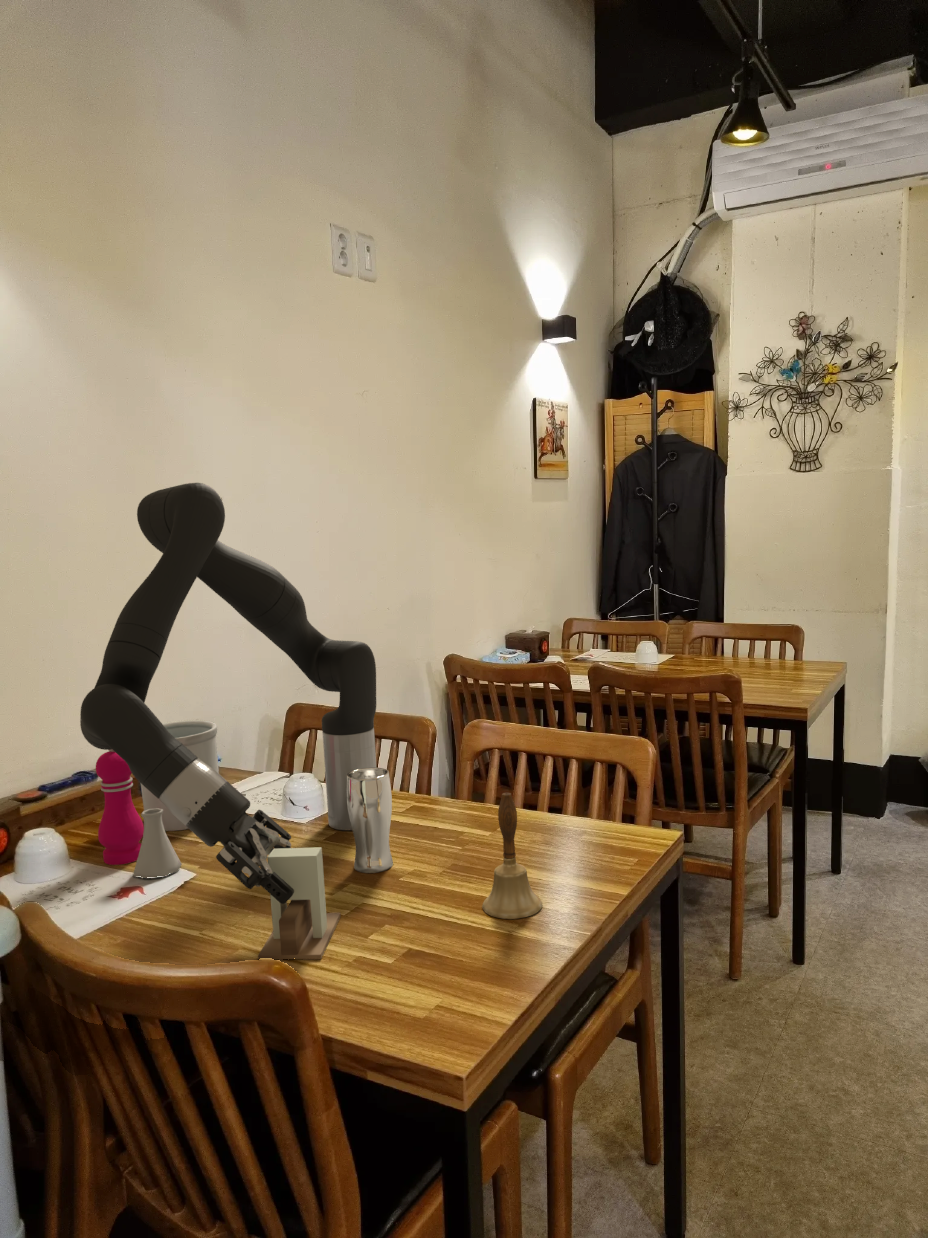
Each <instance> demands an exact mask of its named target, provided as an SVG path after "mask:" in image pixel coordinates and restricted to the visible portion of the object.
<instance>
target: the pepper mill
mask: <svg viewBox="0 0 928 1238" xmlns="http://www.w3.org/2000/svg"><path fill="white" fill-rule="evenodd" d="M95 773H96V775H97V776H98V777H99V779H101V780H102V781H100V790H101V791H102V792H103V795H104V808H103V809H104V810H103V813H102V816H101V819H100V822H99V825H98V832H97V836H98V842H99V843H100V845H101V846H103V847H104V849H103V851H102V856H103V857H102V858H103V862H104V863H105V864H107V865H109V866H119V865H120V866H121V865H126V864H130V863H135V862H137V859H138V856H139V852H140V848H141V844H142V842H140V841H141V840H143V833H144V821H143V820H142V817H141V815H139V813H138V811H137V810H136V807H135V804H134V803H133V799H132V795H131V794H132V787H133V786H134V783H133V780H134V779H133V776H132V777H131V775H132V772H131V770H130V768H129V766H128V764H127V763H126V762H125V761H124V760H123V759H122V758H121V757H120V756H119V755H118V754H117V753H116V752H115V751H114V750H112V749H111V750H108V751H106V752H104V753H102V754H101V755H100V756H99V757H98V759H97V760H96V763H95Z"/></svg>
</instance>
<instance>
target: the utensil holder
mask: <svg viewBox="0 0 928 1238" xmlns="http://www.w3.org/2000/svg"><path fill="white" fill-rule="evenodd" d="M161 723H162V724H163V725H164V727H165V728H166V729H167V731H168V732H169V733H170V734H171V735H172V736H173V737H174V738H176V739H177V740H178V741H180V742H181V743H182V744H183V745H184V746H185V747H187V748H188V749H189V750H190V751H191V752H192V753H193V754H194V755H196V756H197V757H198V758H199V759H200V760H201V761H203V762H204V763H206V764H207V765H209V766H210V767H212V768H213V769H214V770H215V771H216V772H217V773H219V772H220V770H219V760H218V759H219V757H218V743H217V734H218V725H217V723H215V722H213V721H210V720H203V719H200V720H199V719H189V720H188V719H187V720H175V721H169V722H168V721H167V722H161ZM219 774H220V773H219ZM140 788H141V797H142V799H141V800H142V806H143V811H145V810H148V809H155V808H159V809H163V813H162V823H163V826H164V830H165V832H173V831H174V832H177V831H183V830H189V829H188V828H187V827H186V826H185V825H184V824H183V823H182V822H181V821H180V820H178V819H177V818H176V817H175V816H174V815H173V814H172V813H171V812H170V811H169V810H168V809H167V808H166V806H165V805H164V804H163V803H162V802H161V801H160V800H159V799H158V798H157V797H156V796H155V795H153V794H152V793H151V792H150V791H149V790H148V789H147V788H146V787H144V785H142V784H141V783H140Z"/></svg>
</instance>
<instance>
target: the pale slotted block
mask: <svg viewBox="0 0 928 1238" xmlns="http://www.w3.org/2000/svg"><path fill="white" fill-rule="evenodd" d="M266 860H267V863H268V864H269V866H270V868H271V870H272V873H273V872H275V873H276V874H277V875H278V876H279V877H281V878H282V879H283V880H284V881H285V882H286V883H287V884H288V885H290V886H291V887H292V888H293V889H294V894H293V895H292V897H291V898H290V899H289V900H288V901H291V900H310V901H311V915H312V929H313V938H323V935H324V933H325V931H326V929H327V916H326V913H327V908H326V907H327V906H326V905H327V904H326V889H325V876H324V862H323V861H324V860H323V848H322V847H320V846H319V847H291V848H279V849H275V848H274V849H273V850H272V852H271V853H270V854H269V855H267V859H266ZM269 894H270V893H269ZM269 897H270V909H271V922H272V923H271V924H272V932H273V937H274V939H280V930H279V920H280V918H281V916H282V915H283V913H284V911H285V910H286V908H287V906H288V901H287V902H286V903H285V904H281V903H280V902H279V901H277V900H276V899H275V898H274V897H273V896H272V895H271V894H270V895H269Z"/></svg>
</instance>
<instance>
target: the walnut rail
mask: <svg viewBox="0 0 928 1238" xmlns="http://www.w3.org/2000/svg"><path fill="white" fill-rule="evenodd" d="M326 916H327V929H326V931H325V933H324V935H323V938H313V929H312V915H311V901H310V900H289V903H288V904H287V908H286V910H285V911H284V913H283V915H282V916H281V918H280V920H279V930H280V939H274V937H273V931H271V933H270V935H269V936H268V938H267V940H266V941H265V943H264V945H263V947H262V948H261V949H260V951H259V952H258V954H257V960H258V959H260V958H272V959H279V961H284V960H283V959H288V960H287V961H289V959H294V958H295V959H303V960H322V959H323V957H322V956H324V954H325V952H326V950H327V948H328V946H329V943H330V942H331V938H332V937H333V935H334V932H335V930H336V928H337V925H338V923H339V922H340V919H341V916H342V915H341V912H326ZM326 947H327V948H326ZM324 951H325V952H324Z"/></svg>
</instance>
